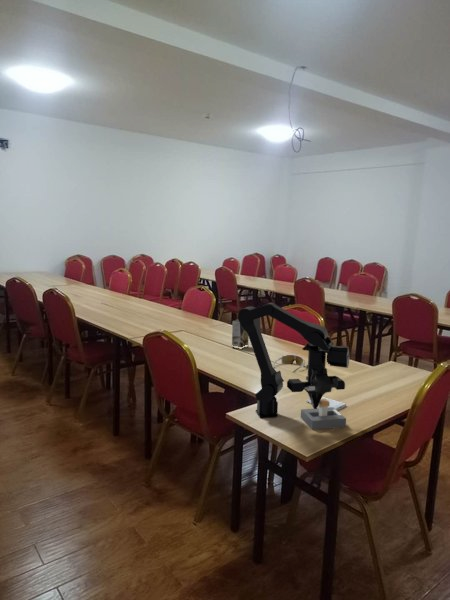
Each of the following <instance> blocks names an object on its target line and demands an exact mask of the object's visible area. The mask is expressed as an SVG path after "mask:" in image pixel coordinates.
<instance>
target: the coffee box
mask: <svg viewBox="0 0 450 600" xmlns="http://www.w3.org/2000/svg"><path fill="white" fill-rule="evenodd" d="M231 331H232V333H231V335H232V336H231V346H232V345H233V346H238V347H243V346H245V345H248V346H249V341H250V339H249V336H248V334H247V333H246V331H245V330H244V329H243V328H242V326H241V324H240V322H239V320H238V319H235V320H232V329H231Z"/></svg>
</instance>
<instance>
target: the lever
mask: <svg viewBox="0 0 450 600" xmlns="http://www.w3.org/2000/svg"><path fill="white" fill-rule="evenodd" d="M329 404H330V402H329V401H328V400H326V399H321V400H320V402H319V407H318V408H319V416H327V409H328V406H329Z"/></svg>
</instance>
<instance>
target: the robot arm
mask: <svg viewBox="0 0 450 600" xmlns="http://www.w3.org/2000/svg"><path fill="white" fill-rule="evenodd" d="M266 316H269V317H270V318H272V319H275V320H277V322H280V323H281V324H283V325H285V326H286V327H289V328H290V329H292V330H293V331H296V332H297V333H298V334H300V335H301V337H302V338H303V339H304V340H305V341H307V343H306V345H304V346H303V347H302V349H301V350H302V351H307V352H308V354H307V355H308V357H307V358H308V359H307V364H306V368H307V376H305V377H306V378H305V380H306V381H302V380H300V379H299V378H289V379H288V380H287V381H286V387H287V389H288V390H289V391H291V393H301V392H304V391H305V392H306V393H307V395H308V398H309V399H310V400H311V403H312V404H311V406H312V409H317V408H319V407H318V405H319V402H320V400H321V398H322V397H324V395H325V394H327V393H331V392H332V389H333V388H334V389H336V390H337V391H338V390H341V391H342V390H345V389H346V383H345V382H346V381H344V380H343V379H341V378H340V377H339V376H337V375H328V369H327V368H326V362H327V364H328V365H329V367H336V368H337V367H338V368H344V369H345V368H346V369H348V368H349V366H350V357H351V355H350V350H349V346H346V345H345V346H341V345H339V346H338V345H335V344H334V343H333V341H332V340H331V339H330V337H329V332H328V329H327V328H326V327H325V326H323V325H320V324H316V323H314V322H310V321H306V320H304V319H302V318H300V317H299V316H296V315H295V314H293V313H292V312H289V311H287V310H286V309H284V308H283V307H281V306H279V305H278V304H276V303H275V302H269V303H265V304H264V305H260V306H258V307H257V306H256V307H255V306H247V307H244V308H243V309H240V310H239V311H238V313H237V317H236V318H237V320H239V322H240V324H241V326H242V328H243V329H244V330H245V331H246V333H247V334H248V336H249V341H250V345H251V348H252V351H253V353H254V356H255V359H256V362H257V365H258V368H259V370H260V371H259V372H260V387H261V389H260V390H258V392H256V393H255V394H254V395H255V398H256V409H255V413H256V414H257V415H258V417H259V418H260V419H265V418H277V417H278V411H279V410H278V409H279V401H277V397H276V396H277V395H278V394H279V392H280V391H281V390H282V389H283V387H284V382H285V380H284V378H283V376H282V372H281V370H278V371H277V370H276V369H275V368H273V363H272V361H271V358H270V355H269V351H268V348H267V347H266V343H265V340H264V337H263V334H262V332H261V318H263V317H266Z"/></svg>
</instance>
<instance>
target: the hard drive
mask: <svg viewBox="0 0 450 600" xmlns="http://www.w3.org/2000/svg"><path fill="white" fill-rule="evenodd" d="M321 399H326V400H328V401H329V402H330V404H329V406H328V408H330V407H333V408H334V409H336V410H337V411H339V410H341V409H343V408H346V407H347V404H346V403H344V402H340V401H338V400H334V399H331V398H327V397H324V396H322V398H321ZM306 402H309V403H311V400H310V398H308V399H306ZM309 403H308V404H309ZM318 406H319V405H318Z"/></svg>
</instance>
